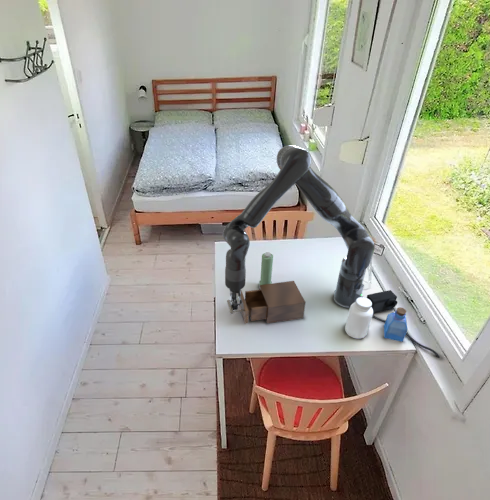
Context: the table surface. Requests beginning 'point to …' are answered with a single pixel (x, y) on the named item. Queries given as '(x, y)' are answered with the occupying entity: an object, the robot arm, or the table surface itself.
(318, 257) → the table surface
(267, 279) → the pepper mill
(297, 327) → the table surface
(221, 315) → the table surface
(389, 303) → the digital camera
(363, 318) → the pill bottle
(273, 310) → the cabinet
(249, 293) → the drawer
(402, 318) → the perfume bottle
